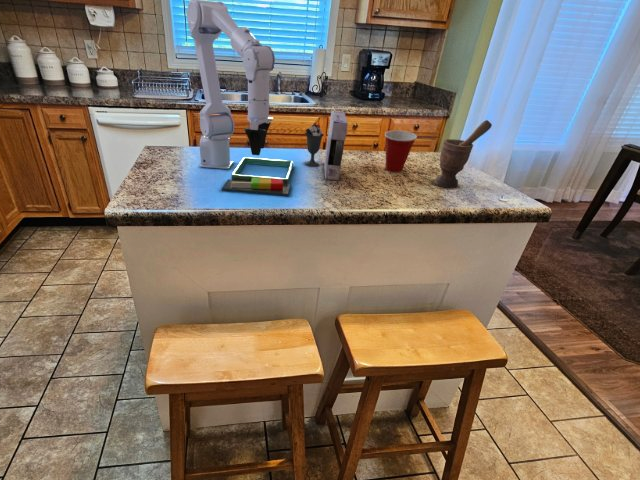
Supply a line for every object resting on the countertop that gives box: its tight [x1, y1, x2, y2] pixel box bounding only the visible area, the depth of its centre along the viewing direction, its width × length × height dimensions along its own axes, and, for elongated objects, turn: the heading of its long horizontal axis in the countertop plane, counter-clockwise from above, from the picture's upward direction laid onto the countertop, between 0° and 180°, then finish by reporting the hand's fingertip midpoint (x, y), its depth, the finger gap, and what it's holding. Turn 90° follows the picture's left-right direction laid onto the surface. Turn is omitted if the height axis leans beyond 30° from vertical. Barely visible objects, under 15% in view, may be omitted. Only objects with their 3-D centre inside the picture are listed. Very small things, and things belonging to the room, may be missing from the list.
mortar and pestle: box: [433, 119, 493, 189], centre depth 119 cm, size 12×9×20 cm
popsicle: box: [232, 177, 283, 190], centre depth 111 cm, size 6×15×2 cm, turn 93°
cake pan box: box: [323, 109, 349, 181], centre depth 124 cm, size 19×5×18 cm, turn 176°
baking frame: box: [231, 156, 294, 184], centre depth 124 cm, size 17×20×2 cm
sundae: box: [304, 117, 325, 167], centre depth 131 cm, size 7×7×15 cm
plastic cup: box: [384, 129, 418, 173], centre depth 132 cm, size 11×11×12 cm
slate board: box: [221, 179, 291, 197], centre depth 112 cm, size 19×8×1 cm, turn 85°
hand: (258, 151), depth 111 cm, fingers open, 7 cm apart
